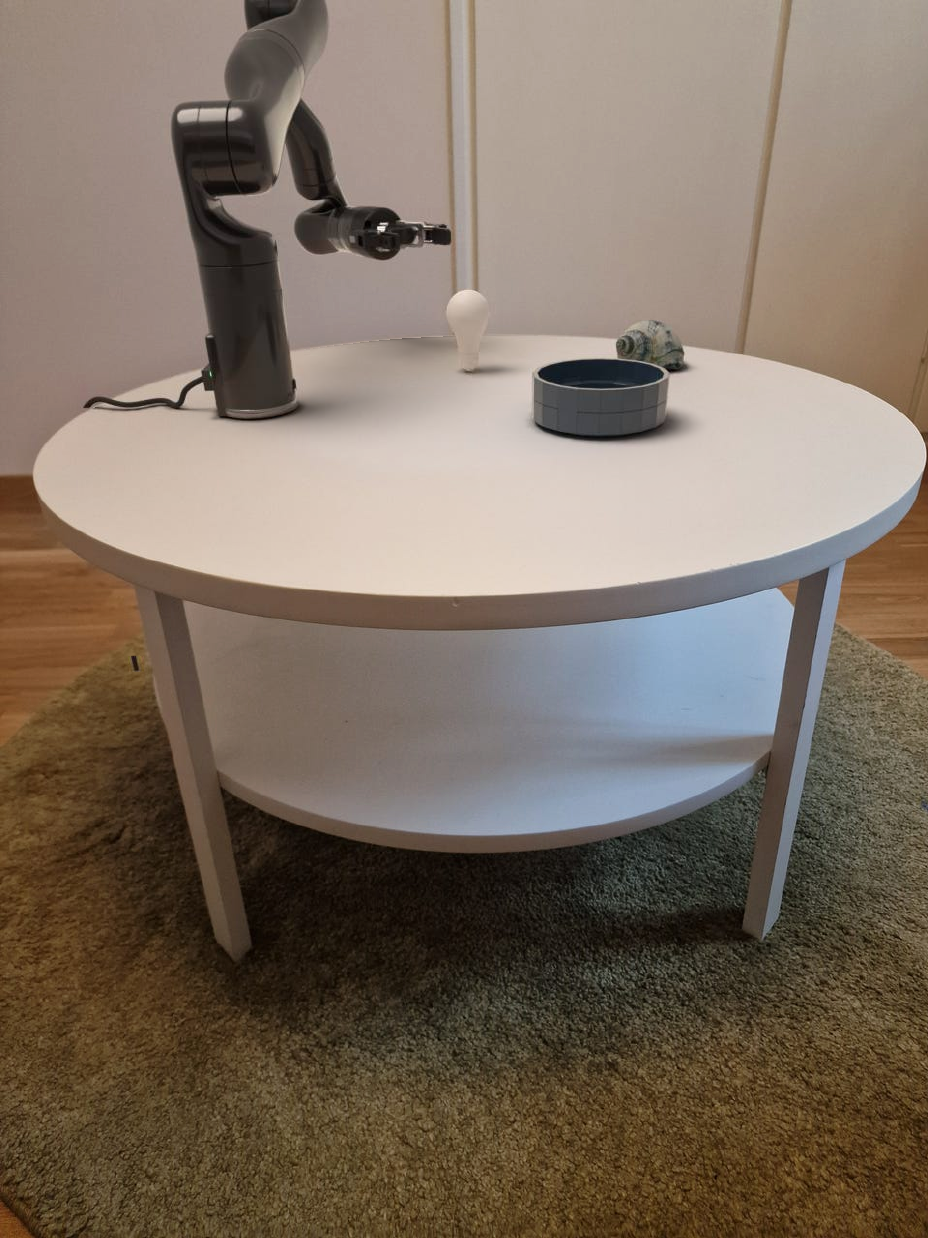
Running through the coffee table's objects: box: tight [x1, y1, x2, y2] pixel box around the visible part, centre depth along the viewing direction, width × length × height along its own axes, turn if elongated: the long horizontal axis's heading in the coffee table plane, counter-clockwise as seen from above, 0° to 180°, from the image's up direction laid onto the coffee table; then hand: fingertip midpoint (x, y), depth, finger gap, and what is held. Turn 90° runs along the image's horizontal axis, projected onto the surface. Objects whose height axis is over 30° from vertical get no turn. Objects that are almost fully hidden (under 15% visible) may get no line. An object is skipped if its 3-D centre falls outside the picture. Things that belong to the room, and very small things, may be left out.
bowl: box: [531, 357, 671, 438], centre depth 97 cm, size 15×15×6 cm
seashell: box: [615, 319, 686, 371], centre depth 119 cm, size 6×8×12 cm
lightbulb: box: [445, 289, 491, 372], centre depth 119 cm, size 6×6×11 cm
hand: (423, 239), depth 122 cm, fingers open, 8 cm apart
